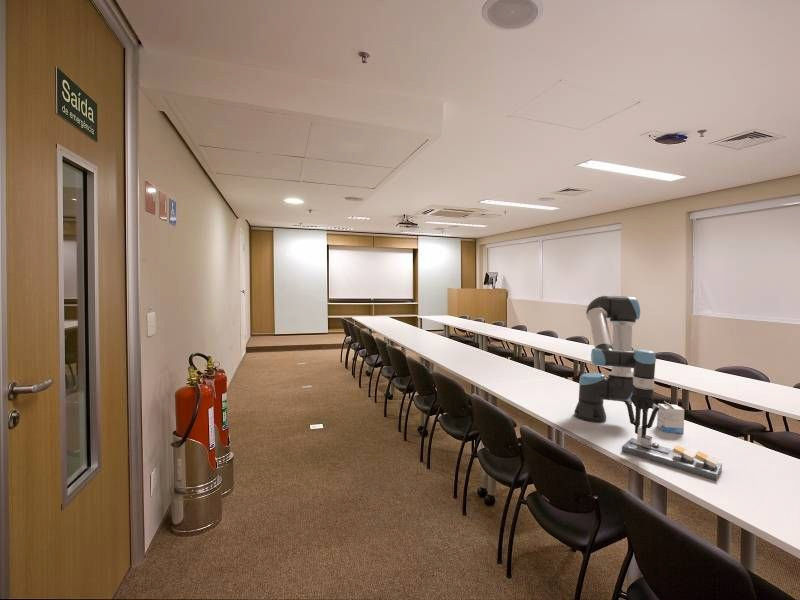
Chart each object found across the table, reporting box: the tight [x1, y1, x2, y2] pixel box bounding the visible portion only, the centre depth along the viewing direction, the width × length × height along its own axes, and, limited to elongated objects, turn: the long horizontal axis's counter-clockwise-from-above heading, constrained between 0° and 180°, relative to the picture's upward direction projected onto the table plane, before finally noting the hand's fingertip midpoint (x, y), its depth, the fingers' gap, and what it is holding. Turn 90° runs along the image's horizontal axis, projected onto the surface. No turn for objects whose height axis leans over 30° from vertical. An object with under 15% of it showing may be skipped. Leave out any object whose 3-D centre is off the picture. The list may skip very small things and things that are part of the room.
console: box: [621, 437, 723, 482], centre depth 154 cm, size 31×13×4 cm, turn 43°
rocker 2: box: [695, 450, 719, 468], centre depth 146 cm, size 6×6×2 cm
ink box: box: [656, 400, 685, 434], centre depth 187 cm, size 9×8×13 cm
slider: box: [641, 434, 653, 449], centre depth 160 cm, size 3×3×4 cm
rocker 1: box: [672, 444, 696, 461], centre depth 151 cm, size 6×6×2 cm
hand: (639, 442), depth 162 cm, fingers closed
